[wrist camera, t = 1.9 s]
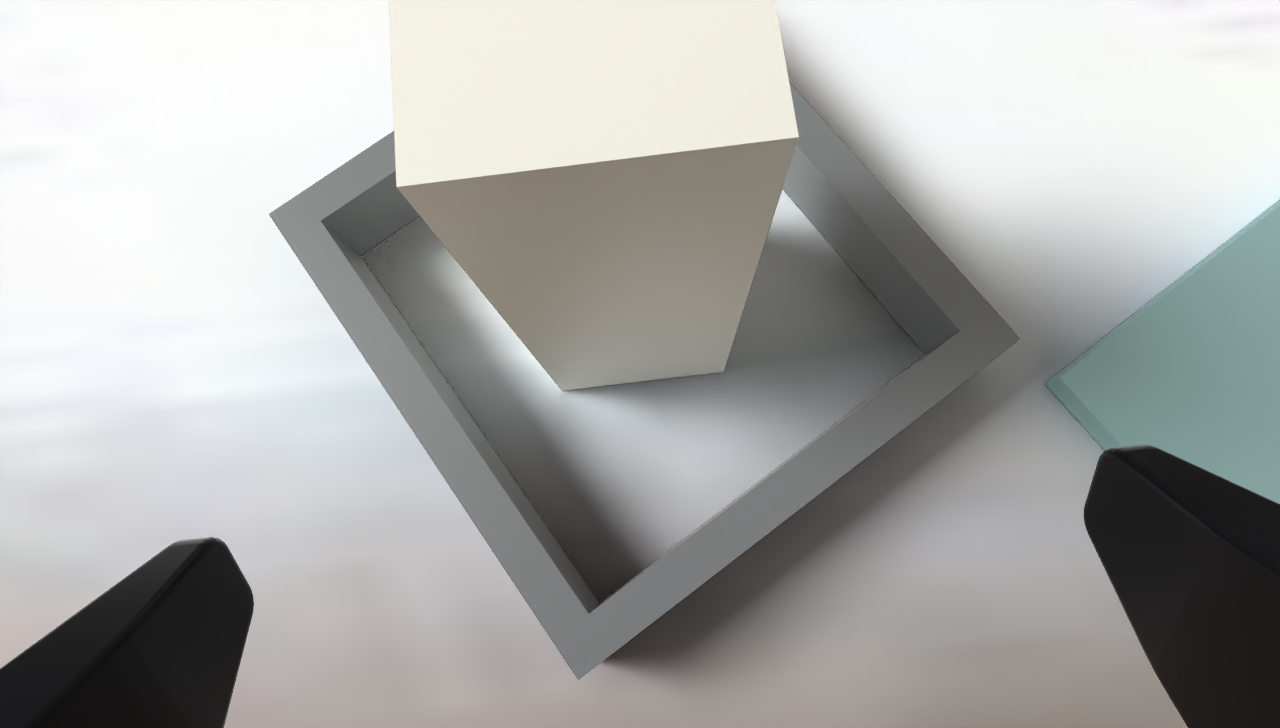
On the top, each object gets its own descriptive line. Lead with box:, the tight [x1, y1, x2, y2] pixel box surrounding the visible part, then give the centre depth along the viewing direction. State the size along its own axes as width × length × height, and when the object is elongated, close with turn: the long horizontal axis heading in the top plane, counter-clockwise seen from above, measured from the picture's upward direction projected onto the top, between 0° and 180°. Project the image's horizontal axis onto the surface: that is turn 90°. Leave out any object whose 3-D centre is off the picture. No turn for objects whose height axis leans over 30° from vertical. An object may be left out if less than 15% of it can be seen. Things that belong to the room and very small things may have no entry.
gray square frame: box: [269, 82, 1020, 680], centre depth 20 cm, size 14×13×2 cm
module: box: [389, 0, 799, 391], centre depth 15 cm, size 4×4×12 cm
